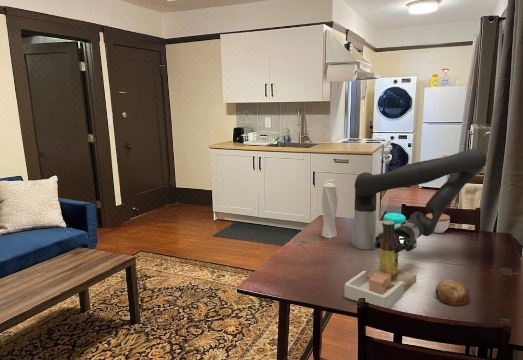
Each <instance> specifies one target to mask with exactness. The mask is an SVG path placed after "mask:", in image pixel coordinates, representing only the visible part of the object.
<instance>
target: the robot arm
mask: <svg viewBox="0 0 523 360" xmlns="http://www.w3.org/2000/svg"><path fill="white" fill-rule="evenodd" d="M486 164H487V156H486V153H485V152H484V151H482V150H480V149H477V148H471V149H466V150H464V151H460V152H457V153H455V154H451V155H450V154H449V155H448V156H442V157H438V158H432V159H427V160H421V161H416V162H412V163H408V164H405V165H402V166H399V167H397V168H394V169H392V170H389V171H387V172H382V173H378V174H372V173H370V172H368V171H366V172H362V173H360V174H358V175H357V176H356V178H355V179H354V180H355V181H354V221H353V222H354V223H353V225H352V227H351V228H352V229H351V230H352V231H351V232H352V235H351V240H352V241H351V245H353V247H354V248H356V249H359V250H366V251H367V250H368V251H369V250H373V249H377V250H378V249H379V250H380V239H381V237H382V236H383V232H379V234H378V235H376V229H377V227H376V226H377V194H379V193H382V192H384V191H385V192H386V191H388V190H394V189H402V188H408V187H413V186H417V185H423V184H427V183H430V182H433V181H436V180H438V179H440V178H443V177H445V176H448V175H450V176H449V178H448V179H447V180H446V181H445V183H443V184H442V185H441V186H440V187H439V188H438V190H436V191H435V193H434V194H433V195H432V196H431V198H429V200H428V201H427V202H426V204H425V208H426V210H427V211H428V212H429V213H431V214H432V219H430V218H428V217H427V216H426V214H424V213H422V212H421V211H414V212H413V213H412V214H410V216H409V218H408V220H407V221H406V222H404V223H402V224H400V225H399V226H397V227H398V228H396V229H394V233H395V237H396V239H397V242H398V245H397V246H396V247H395V248H394V253H396V254H397V253H398V254H399V253H401V252H404V251H405V252H411V251H414V250H415V249H416V248H418V247H417V245H418V243H417V242H418V240H417V239H419V238H420V237H421V236H423V237H429V236H431V235H433V234H434V230H435V228H436V225H437V223H438V220H439V218H440V217H441V215H442V214H444V212H445V211H446V210H447V208H448V207H449V206H450V205H451V204H452V202H453V200H455V198H456V197H457V196H458V195H459V193H460V191H461V190H462V189H463V188H464V187H465V186H466V185H467V184H468V183H469V182H470V181H471V180H473V178H474V177H476V175H478V174H479V173H481V172H482V171H483V169H484V168H485V167H486Z"/></svg>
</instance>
